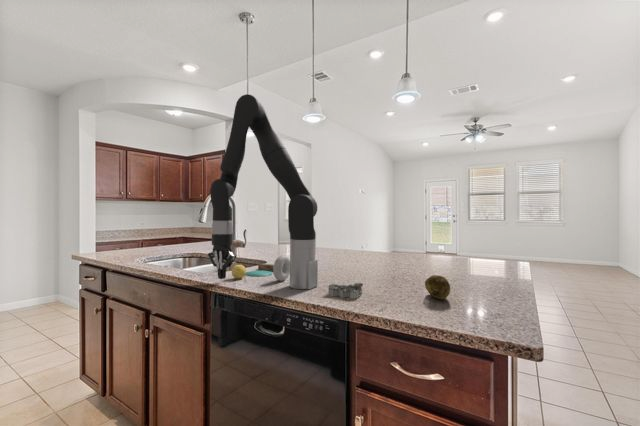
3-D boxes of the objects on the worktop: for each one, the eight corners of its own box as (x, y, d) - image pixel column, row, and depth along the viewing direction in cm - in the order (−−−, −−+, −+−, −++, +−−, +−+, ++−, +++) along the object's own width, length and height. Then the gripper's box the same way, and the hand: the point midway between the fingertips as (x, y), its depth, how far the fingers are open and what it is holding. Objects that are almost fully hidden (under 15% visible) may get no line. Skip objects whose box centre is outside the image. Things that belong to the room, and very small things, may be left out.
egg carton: (364, 295, 101) (364, 283, 101) (355, 301, 95) (355, 287, 95) (335, 291, 107) (335, 279, 107) (325, 296, 100) (325, 283, 100)
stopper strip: (285, 271, 140) (285, 266, 140) (282, 272, 138) (282, 266, 138) (261, 268, 146) (261, 263, 146) (258, 269, 145) (258, 263, 145)
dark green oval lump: (454, 296, 100) (454, 271, 100) (448, 306, 89) (448, 279, 89) (427, 292, 104) (428, 269, 104) (418, 302, 93) (419, 275, 93)
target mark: (277, 272, 137) (277, 272, 137) (260, 277, 126) (260, 277, 126) (257, 270, 142) (257, 269, 142) (238, 274, 132) (238, 274, 132)
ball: (248, 278, 125) (249, 264, 125) (239, 280, 120) (239, 266, 120) (238, 276, 128) (238, 263, 128) (228, 279, 123) (228, 265, 123)
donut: (278, 283, 116) (279, 257, 116) (271, 282, 117) (271, 256, 117) (292, 278, 125) (292, 254, 125) (285, 277, 126) (285, 253, 126)
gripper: (242, 232, 116) (241, 278, 116) (217, 231, 123) (217, 274, 123) (227, 234, 110) (227, 282, 110) (202, 232, 116) (201, 278, 116)
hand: (221, 278), depth 116 cm, fingers closed
